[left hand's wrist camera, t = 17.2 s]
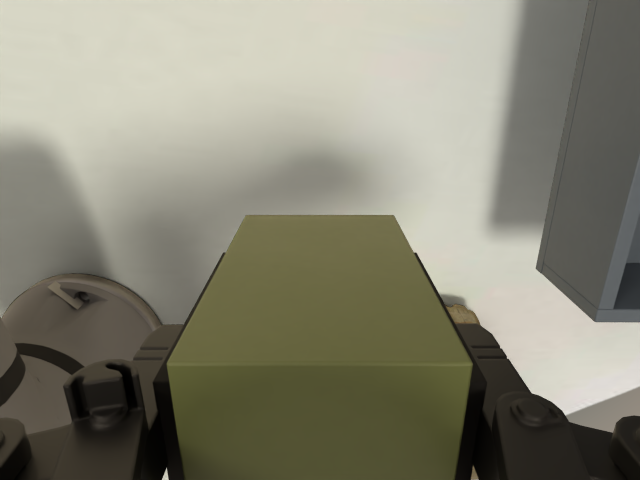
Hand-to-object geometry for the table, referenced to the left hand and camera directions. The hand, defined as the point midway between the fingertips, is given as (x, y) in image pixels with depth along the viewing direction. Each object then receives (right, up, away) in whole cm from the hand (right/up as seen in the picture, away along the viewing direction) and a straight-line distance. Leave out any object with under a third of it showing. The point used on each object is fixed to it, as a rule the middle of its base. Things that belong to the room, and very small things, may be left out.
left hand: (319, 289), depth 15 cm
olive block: (0, 0, +1) cm, 1 cm away
